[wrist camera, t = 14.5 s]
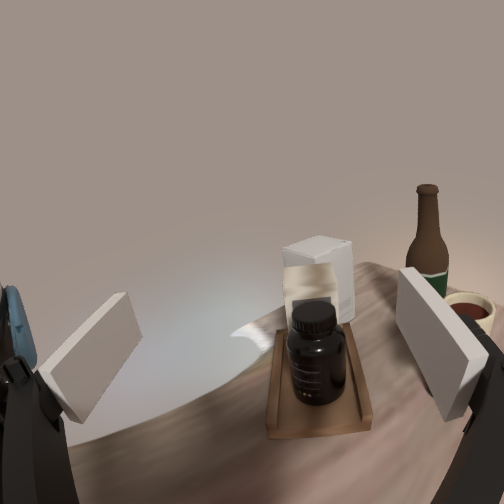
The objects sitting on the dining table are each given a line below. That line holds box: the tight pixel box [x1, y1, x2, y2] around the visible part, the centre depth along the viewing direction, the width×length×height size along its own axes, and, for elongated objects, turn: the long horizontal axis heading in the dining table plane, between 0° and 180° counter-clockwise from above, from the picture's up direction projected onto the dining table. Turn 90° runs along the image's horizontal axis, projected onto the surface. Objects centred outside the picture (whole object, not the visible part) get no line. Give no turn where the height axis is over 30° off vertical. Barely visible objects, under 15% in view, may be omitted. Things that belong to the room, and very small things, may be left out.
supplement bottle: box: [286, 300, 346, 406], centre depth 32 cm, size 7×7×12 cm
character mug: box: [429, 292, 496, 394], centre depth 28 cm, size 11×7×13 cm, turn 116°
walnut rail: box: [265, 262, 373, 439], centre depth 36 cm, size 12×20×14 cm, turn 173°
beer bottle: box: [405, 184, 449, 298], centre depth 42 cm, size 8×8×24 cm
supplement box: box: [282, 235, 355, 324], centre depth 52 cm, size 9×9×15 cm
